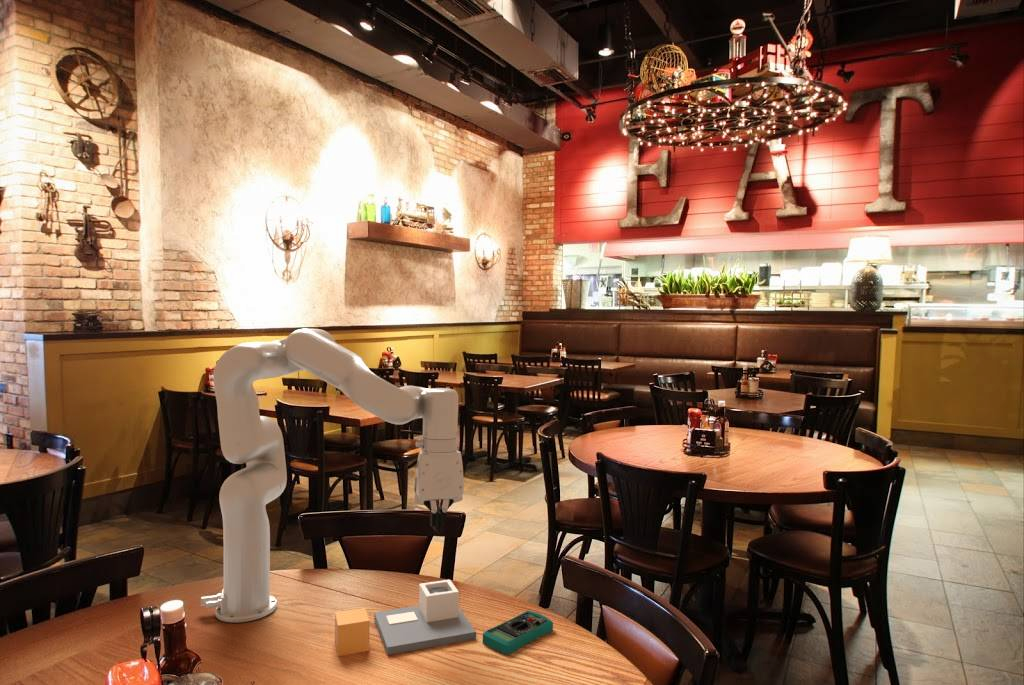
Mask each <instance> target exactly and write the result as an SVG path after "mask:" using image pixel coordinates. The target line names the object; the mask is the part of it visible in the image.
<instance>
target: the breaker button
mask: <svg viewBox="0 0 1024 685" xmlns="http://www.w3.org/2000/svg"><path fill="white" fill-rule="evenodd" d="M446 591H449V590H448V589H446V588H433V589H431V590H429V593H430V594H433V593H439V592H446Z"/></svg>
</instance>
